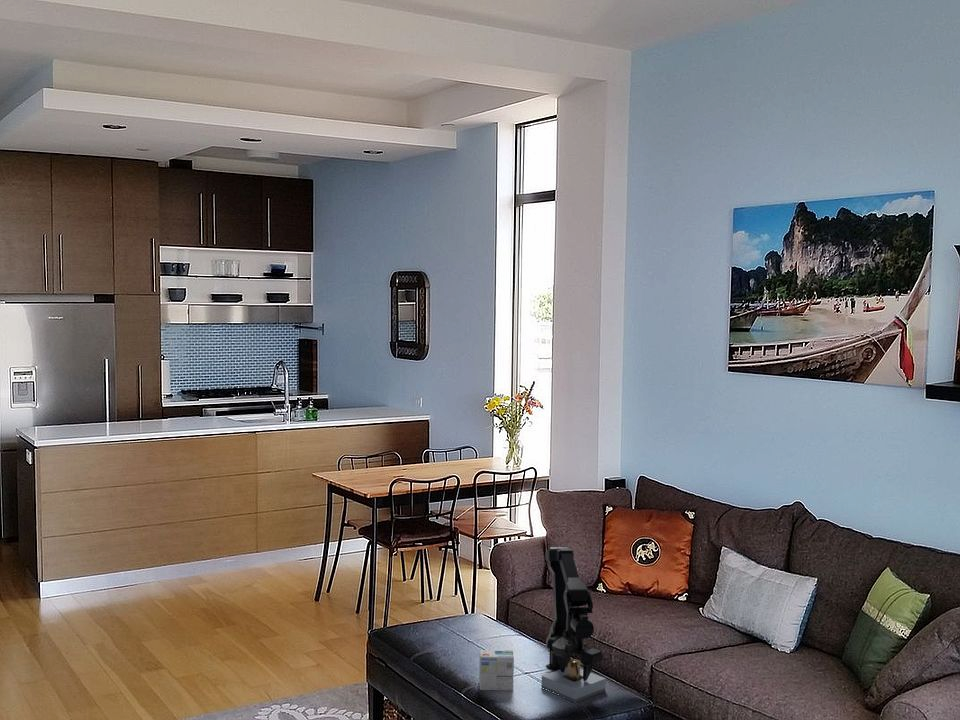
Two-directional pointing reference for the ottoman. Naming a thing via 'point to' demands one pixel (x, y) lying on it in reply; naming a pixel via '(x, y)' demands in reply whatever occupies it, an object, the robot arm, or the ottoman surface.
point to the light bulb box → (496, 670)
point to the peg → (573, 670)
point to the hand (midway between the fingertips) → (573, 676)
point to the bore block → (573, 685)
